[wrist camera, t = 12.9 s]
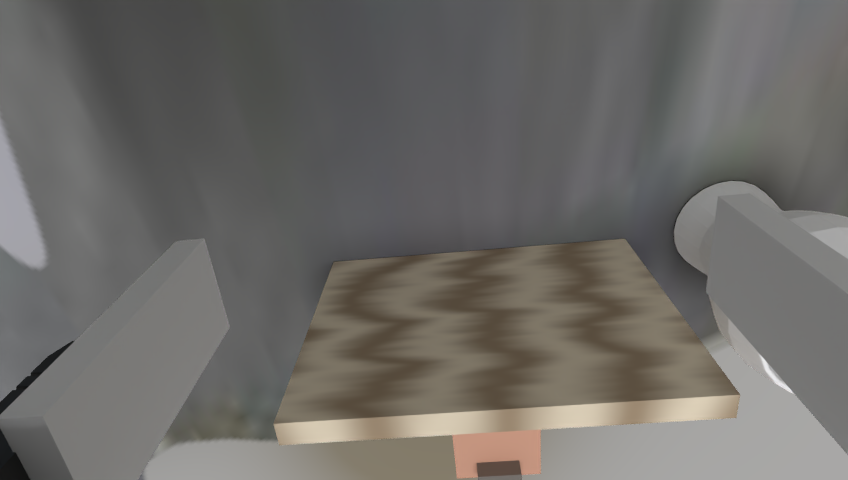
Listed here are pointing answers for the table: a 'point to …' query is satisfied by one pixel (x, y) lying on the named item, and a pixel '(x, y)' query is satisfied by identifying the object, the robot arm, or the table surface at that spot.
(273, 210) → the table surface
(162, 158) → the table surface
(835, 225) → the cup
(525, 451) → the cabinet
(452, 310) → the wallboard
